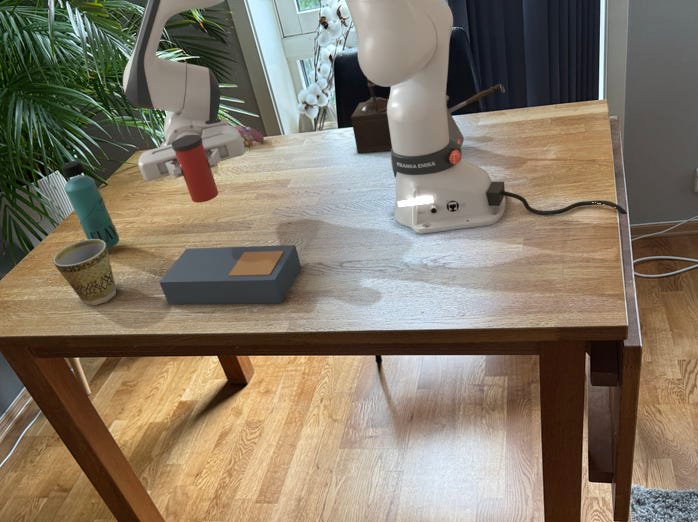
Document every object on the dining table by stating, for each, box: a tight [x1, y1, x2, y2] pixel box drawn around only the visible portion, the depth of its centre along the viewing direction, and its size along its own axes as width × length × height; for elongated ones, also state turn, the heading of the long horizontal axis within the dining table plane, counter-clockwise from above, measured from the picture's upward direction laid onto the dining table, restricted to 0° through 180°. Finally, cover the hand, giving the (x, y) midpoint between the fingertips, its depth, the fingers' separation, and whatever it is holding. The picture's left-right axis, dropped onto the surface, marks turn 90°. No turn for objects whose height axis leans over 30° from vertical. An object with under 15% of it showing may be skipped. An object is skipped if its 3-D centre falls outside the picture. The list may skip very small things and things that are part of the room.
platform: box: [159, 244, 302, 305], centre depth 131 cm, size 23×12×5 cm, turn 77°
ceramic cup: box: [52, 239, 117, 306], centre depth 136 cm, size 13×10×10 cm
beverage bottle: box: [61, 160, 120, 250], centre depth 148 cm, size 6×7×20 cm
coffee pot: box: [446, 83, 506, 147], centre depth 159 cm, size 21×12×15 cm, turn 75°
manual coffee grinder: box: [350, 77, 392, 154], centre depth 172 cm, size 16×11×18 cm
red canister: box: [172, 135, 219, 203], centre depth 130 cm, size 6×6×11 cm
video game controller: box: [234, 125, 265, 147], centre depth 190 cm, size 10×5×7 cm, turn 68°
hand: (195, 168), depth 129 cm, fingers closed on red canister, 5 cm apart
